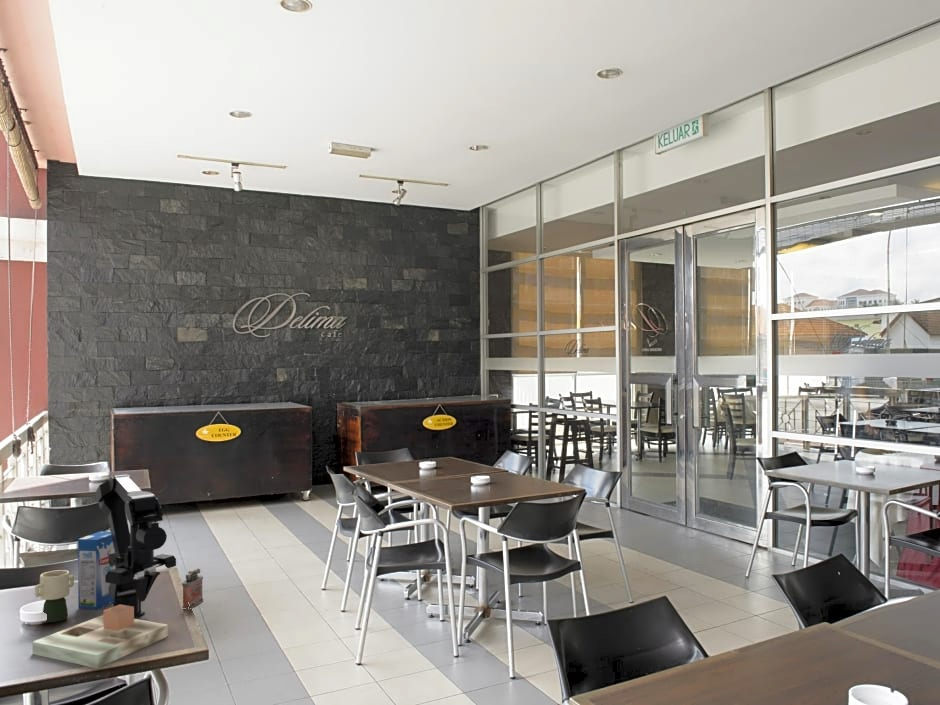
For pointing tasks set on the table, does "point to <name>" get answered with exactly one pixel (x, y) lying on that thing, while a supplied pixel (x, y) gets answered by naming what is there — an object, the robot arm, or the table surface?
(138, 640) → the cream flat piece
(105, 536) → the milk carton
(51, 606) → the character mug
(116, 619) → the block
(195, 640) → the table surface
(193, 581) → the lighter
